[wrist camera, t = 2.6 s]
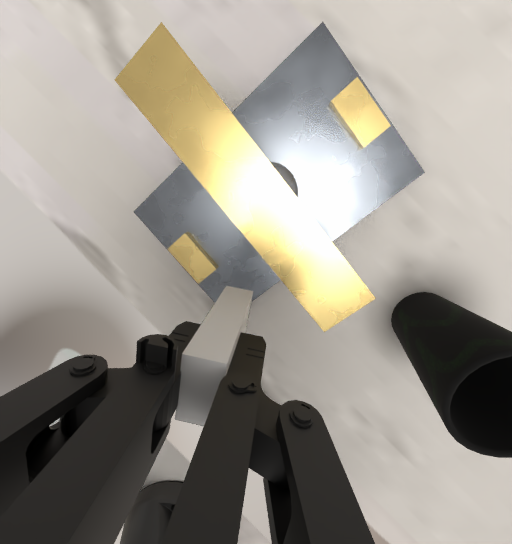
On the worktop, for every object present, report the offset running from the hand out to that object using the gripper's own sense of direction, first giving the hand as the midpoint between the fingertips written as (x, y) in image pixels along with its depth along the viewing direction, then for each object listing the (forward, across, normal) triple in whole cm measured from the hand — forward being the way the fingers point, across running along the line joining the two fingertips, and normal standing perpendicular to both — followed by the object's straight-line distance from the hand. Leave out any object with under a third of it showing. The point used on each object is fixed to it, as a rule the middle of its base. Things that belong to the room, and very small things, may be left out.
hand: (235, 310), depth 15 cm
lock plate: (+13, 0, +6) cm, 14 cm away
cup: (+13, +17, -3) cm, 22 cm away
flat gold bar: (+7, 0, +6) cm, 9 cm away
